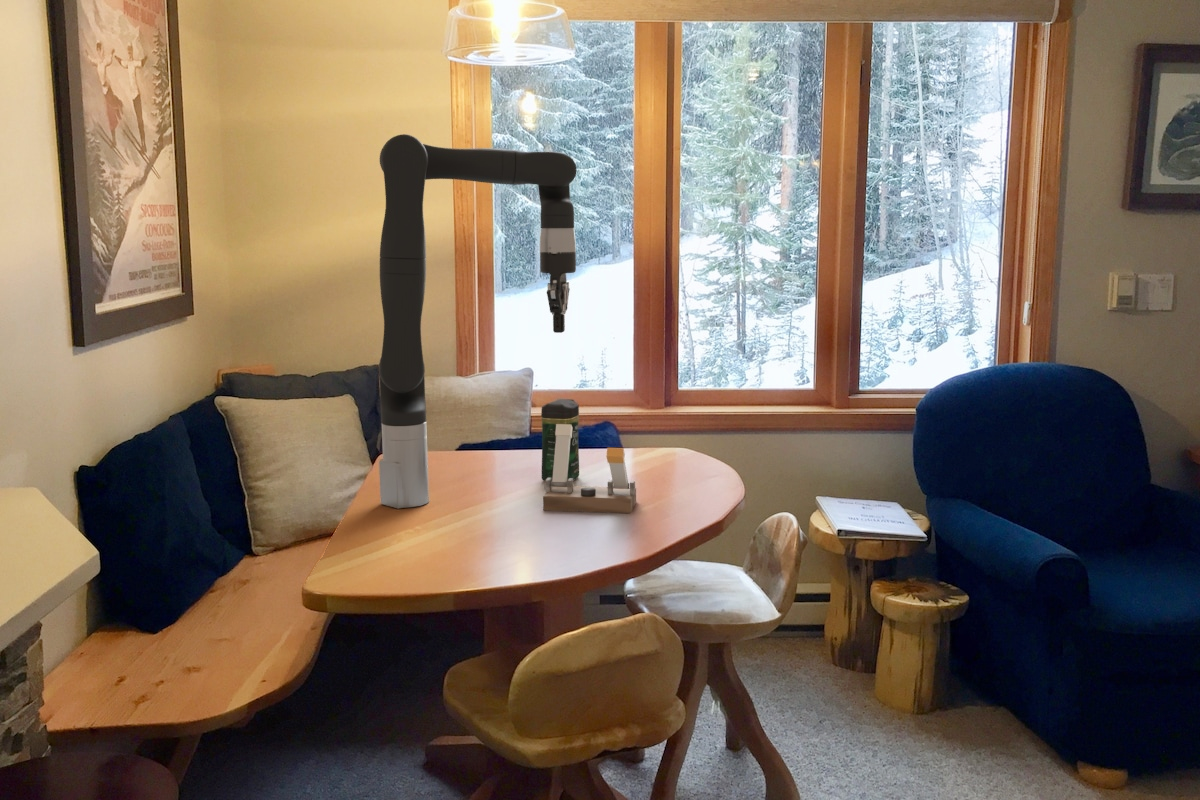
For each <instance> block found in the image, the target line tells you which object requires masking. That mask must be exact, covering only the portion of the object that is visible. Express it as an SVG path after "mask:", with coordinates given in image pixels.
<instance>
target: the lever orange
mask: <svg viewBox="0 0 1200 800" xmlns="http://www.w3.org/2000/svg"><path fill="white" fill-rule="evenodd" d="M625 454H626V453H625V448H624V447H606V460H607V461H606V462H607V464H609V465H608V466H609V468H610V475H611V479H612V480H613V489H629V488H630V482H629V479H628V472H627V467H626V462H625V460H626V459H625Z"/></svg>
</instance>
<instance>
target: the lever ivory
mask: <svg viewBox="0 0 1200 800" xmlns="http://www.w3.org/2000/svg"><path fill="white" fill-rule="evenodd" d="M572 429H573V427H572V425H571V424H556V432H555V435H556V444H555V456H554V467H553V478H552V482H551V486H552V487H567V475H568V463H569V451H570V440H571V438H572Z"/></svg>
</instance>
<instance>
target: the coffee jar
mask: <svg viewBox="0 0 1200 800" xmlns="http://www.w3.org/2000/svg"><path fill="white" fill-rule="evenodd" d="M579 408H580V407H579V404H578V402H576V401H575V399H572V398H571V399H570V398H557V399H555V400H553V401H551V402H549V403H546V404H544V405H543V406H541V413H540V415H541V416H540V419H541V420H540V421H541V432H542V433H541V480H542V481H543V482H545V480H546V479H547V478H551V482H552V478H553V467H554V456H555V444H556V435H555V432H556V424H571V425H572V427H573V429H572V438H571V440H570V451H569V463H568V475H567V481H568V479H569V478H573V481H575V480H576V479H578V477H579V476H580V454H579V451H580V450H579V421H580V409H579Z"/></svg>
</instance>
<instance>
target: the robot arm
mask: <svg viewBox="0 0 1200 800" xmlns="http://www.w3.org/2000/svg"><path fill="white" fill-rule="evenodd" d="M379 166H380V168H381V170H382V173H383V181H384V191H385V192H384V196H385V210H384V218H383V223H382V228H381V229H382V230H381V235H380V236H381V237H380V247H379V285H380V286H379V287H380V289H379V290H380V298H381V306H382V313H383V314H382V315H383V336H382V337H383V338H382V348H381V357H380V360H379V363H378V364H379V365H378V373H379V376H378V377H379V394H380V421H381V440H382V442H381V444H382V459H379V460H378V468H379V469H378V470H379V473H378V474H379V494H380V495H379V497H380V505H384V506H387V507H391V508H395V509H403V508H415V507H420V506H423V505H426V504H428V503H429V502H430V493H429V492H430V490H429V489H430V487H429V486H430V485H429V467H428V465H429V462H428V437H427V436H428V433H427V407H426V402H427V401H426V391H425V390H426V387H425V381H426V380H425V374H426V373H425V372H426V371H425V370H426V368H425V363H424V355H423V346H422V331H421V330H422V329H421V328H422V316H423V309H424V301H425V292H426V291H425V290H426V280H427V279H426V277H427V252H426V251H427V250H426V249H427V248H426V247H427V246H426V245H427V244H426V243H427V242H426V231H425V230H426V229H425V219H424V196H425V184H426V180H427V181H428V180H458V181H469V182H477V183H487V184H496V185H497V184H498V185H499V184H500V185H512V186H520V185H521V186H522V185H536V186H537V188H538V196H539V201H540V228H541V229H540V235H539V259H540V260H539V262H540V263H539V264H540V265H539V271H540V273H542V274H549V282H547V290H546V296H547V301H548V306H549V313H551V314H552V326H553V327H552V328H553V332H554V333H555V334H556V333H557V334H558V333H559V334H560V333H561V334H562V333H563V332H565V329H566V328H565V326H566V325H565V318H566V317H565V315H566V313H567V311H568V305H569V304H568V303H569V296H570V290H571V289H570V282H569V281H567V274H574V273H575V272H576V271H577V266H576V265H577V259H576V257H577V255H576V254H577V251H576V250H577V249H576V246H577V245H576V234H575V210H574V204H573V202H572V201H571V193H570V189H571V188H570V184H571V183H572V182H573V181H574V180H575V178H576V175H577V173H578V171H577V170H578V168H577V164H576V161H575V160H574V159H573V157H571V156H570V155H569V154H567V153H565V152H559V151H523V150H516V149H505V148H490V147H489V148H488V147H487V148H486V147H485V148H483V147H482V148H479V147H478V148H477V147H476V148H475V147H474V148H449V147H440V146H439V147H438V146H433V145H429V144H425V143H422V142H421V140H419V139H418V138H417V137H415V136H413V135H410V134H407V133H406V134H404V133H403V134H398V135H394V136H393V137H391V138H389V140H387V141H386V142H385V144H384V145H383V147H382V148H381V151H380V153H379Z"/></svg>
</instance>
